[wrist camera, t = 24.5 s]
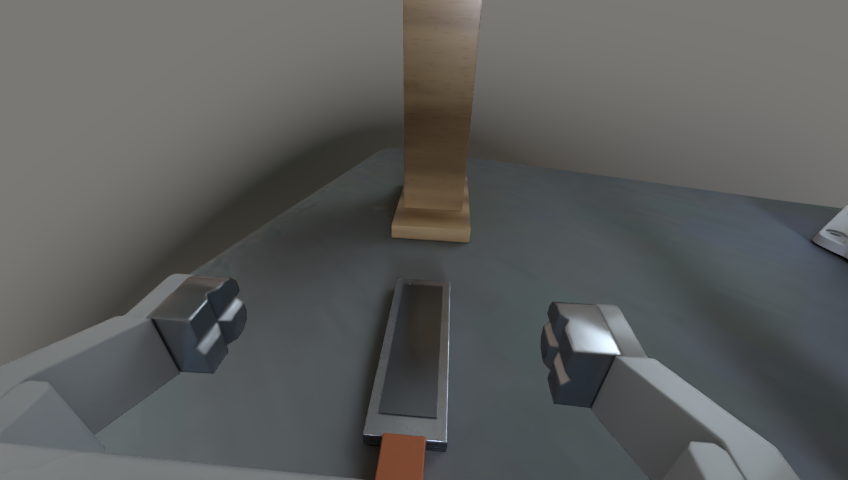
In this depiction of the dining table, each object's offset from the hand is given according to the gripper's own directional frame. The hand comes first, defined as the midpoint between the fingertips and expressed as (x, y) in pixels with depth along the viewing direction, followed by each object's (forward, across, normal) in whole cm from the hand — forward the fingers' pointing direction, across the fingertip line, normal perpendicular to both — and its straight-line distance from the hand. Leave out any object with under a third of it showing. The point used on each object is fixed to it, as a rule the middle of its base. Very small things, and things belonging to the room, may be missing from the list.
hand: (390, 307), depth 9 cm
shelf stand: (+31, 0, +13) cm, 33 cm away
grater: (+5, 0, +13) cm, 14 cm away
